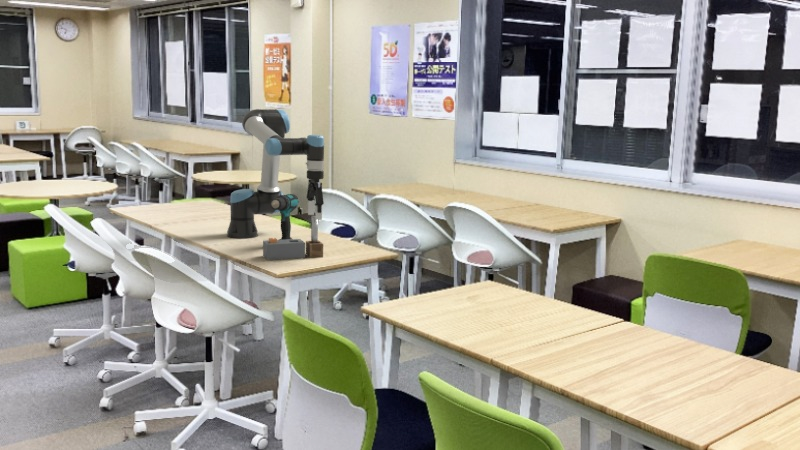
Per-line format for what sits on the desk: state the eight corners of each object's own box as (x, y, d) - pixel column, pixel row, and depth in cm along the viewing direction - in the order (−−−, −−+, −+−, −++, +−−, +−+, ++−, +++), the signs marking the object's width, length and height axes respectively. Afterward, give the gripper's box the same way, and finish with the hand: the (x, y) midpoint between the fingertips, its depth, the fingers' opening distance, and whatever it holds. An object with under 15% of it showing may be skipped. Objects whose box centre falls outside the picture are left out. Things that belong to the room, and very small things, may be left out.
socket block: (263, 255, 323) (263, 240, 322) (300, 253, 329) (300, 238, 328) (267, 260, 315) (267, 244, 314) (305, 258, 321) (305, 242, 320)
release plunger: (268, 255, 321) (268, 238, 319) (275, 255, 322) (275, 237, 321) (270, 257, 318) (270, 239, 317) (276, 256, 319) (276, 239, 318)
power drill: (282, 253, 330) (282, 199, 325) (263, 251, 332) (263, 197, 327) (301, 242, 355) (301, 191, 351) (284, 240, 357) (284, 190, 352)
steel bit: (310, 254, 328) (310, 215, 325) (316, 254, 329) (316, 215, 326) (311, 256, 325) (312, 217, 322) (318, 255, 326) (318, 216, 323)
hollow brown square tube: (305, 253, 330) (305, 240, 329) (318, 253, 332) (318, 240, 331) (310, 257, 322) (310, 244, 321) (323, 256, 325) (323, 243, 324)
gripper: (300, 167, 330) (299, 213, 334) (314, 173, 308) (313, 222, 312) (316, 167, 333) (315, 212, 337) (331, 172, 310) (330, 221, 314)
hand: (314, 217), depth 324 cm, fingers open, 12 cm apart
